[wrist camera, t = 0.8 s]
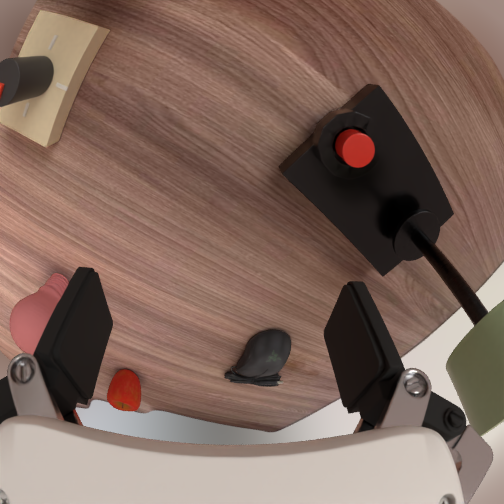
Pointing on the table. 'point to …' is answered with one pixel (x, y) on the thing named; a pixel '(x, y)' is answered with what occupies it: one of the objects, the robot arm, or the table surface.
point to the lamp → (479, 337)
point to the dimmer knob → (24, 78)
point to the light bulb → (36, 313)
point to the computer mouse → (262, 359)
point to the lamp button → (355, 148)
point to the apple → (125, 391)
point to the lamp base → (367, 176)
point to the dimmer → (64, 78)
